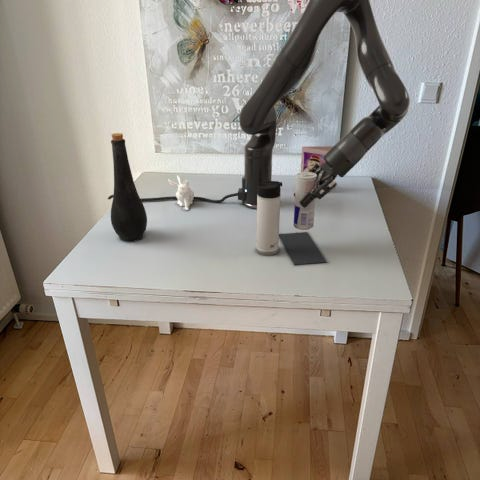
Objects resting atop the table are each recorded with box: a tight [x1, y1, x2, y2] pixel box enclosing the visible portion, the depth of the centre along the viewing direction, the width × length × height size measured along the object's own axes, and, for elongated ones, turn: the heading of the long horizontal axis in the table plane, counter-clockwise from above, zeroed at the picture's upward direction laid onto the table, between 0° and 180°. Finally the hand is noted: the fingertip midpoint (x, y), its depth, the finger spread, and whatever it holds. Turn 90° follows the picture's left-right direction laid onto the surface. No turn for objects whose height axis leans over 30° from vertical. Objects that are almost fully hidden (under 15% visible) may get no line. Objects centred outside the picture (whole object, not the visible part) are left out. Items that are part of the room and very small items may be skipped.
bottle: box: [110, 132, 148, 243], centre depth 140 cm, size 11×11×30 cm
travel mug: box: [256, 180, 283, 256], centre depth 135 cm, size 6×7×20 cm
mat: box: [279, 231, 327, 266], centre depth 142 cm, size 20×9×1 cm, turn 9°
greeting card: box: [299, 146, 333, 189], centre depth 180 cm, size 11×7×15 cm, turn 55°
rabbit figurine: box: [167, 175, 195, 211], centre depth 169 cm, size 12×8×10 cm, turn 170°
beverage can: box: [293, 171, 317, 231], centre depth 134 cm, size 6×6×15 cm
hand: (298, 201), depth 134 cm, fingers closed on beverage can, 5 cm apart
